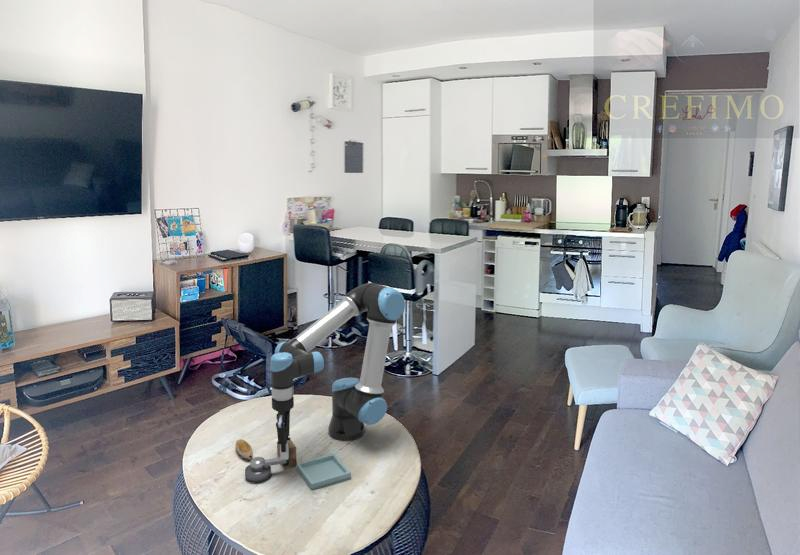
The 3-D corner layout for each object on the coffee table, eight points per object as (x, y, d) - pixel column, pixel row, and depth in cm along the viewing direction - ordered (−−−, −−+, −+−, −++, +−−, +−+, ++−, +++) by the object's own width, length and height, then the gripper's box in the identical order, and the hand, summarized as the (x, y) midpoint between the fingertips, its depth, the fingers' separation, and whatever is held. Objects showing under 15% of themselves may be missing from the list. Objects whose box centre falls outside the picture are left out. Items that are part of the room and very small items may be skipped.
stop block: (290, 457, 215) (289, 438, 214) (296, 466, 209) (296, 446, 208) (277, 460, 213) (276, 441, 211) (283, 469, 207) (283, 449, 205)
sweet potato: (242, 464, 210) (242, 453, 209) (232, 447, 222) (232, 437, 221) (256, 460, 213) (256, 450, 212) (246, 444, 225) (245, 434, 224)
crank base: (241, 471, 205) (240, 464, 204) (265, 465, 209) (265, 458, 209) (249, 486, 196) (248, 478, 195) (274, 479, 201) (274, 471, 200)
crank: (251, 473, 198) (250, 452, 197) (250, 466, 203) (249, 446, 201) (290, 467, 203) (290, 446, 201) (288, 460, 208) (288, 440, 206)
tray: (333, 459, 214) (333, 453, 214) (351, 478, 202) (350, 472, 201) (296, 469, 207) (296, 463, 206) (311, 490, 194) (311, 484, 194)
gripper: (276, 389, 203) (278, 449, 208) (267, 404, 190) (269, 468, 195) (296, 389, 203) (298, 449, 207) (289, 404, 190) (291, 468, 195)
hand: (284, 458), depth 201 cm, fingers closed
